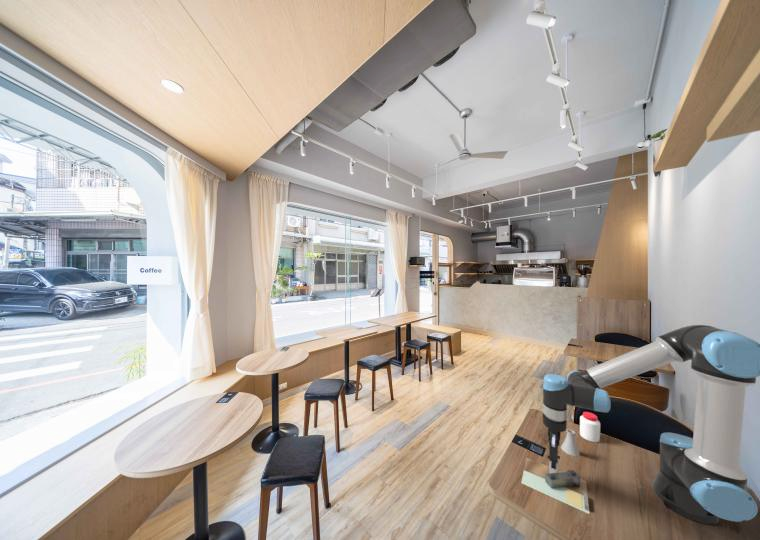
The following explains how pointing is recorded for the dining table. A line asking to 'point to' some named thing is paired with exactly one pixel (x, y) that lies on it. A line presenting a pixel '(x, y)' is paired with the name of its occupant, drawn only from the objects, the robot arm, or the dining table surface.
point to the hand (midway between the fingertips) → (553, 474)
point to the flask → (570, 444)
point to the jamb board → (543, 470)
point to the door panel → (556, 492)
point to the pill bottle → (590, 427)
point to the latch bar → (563, 479)
